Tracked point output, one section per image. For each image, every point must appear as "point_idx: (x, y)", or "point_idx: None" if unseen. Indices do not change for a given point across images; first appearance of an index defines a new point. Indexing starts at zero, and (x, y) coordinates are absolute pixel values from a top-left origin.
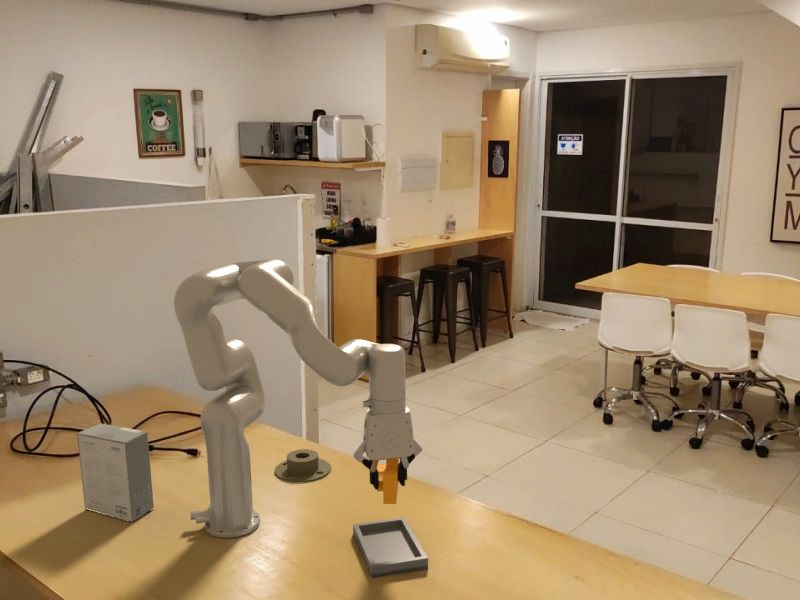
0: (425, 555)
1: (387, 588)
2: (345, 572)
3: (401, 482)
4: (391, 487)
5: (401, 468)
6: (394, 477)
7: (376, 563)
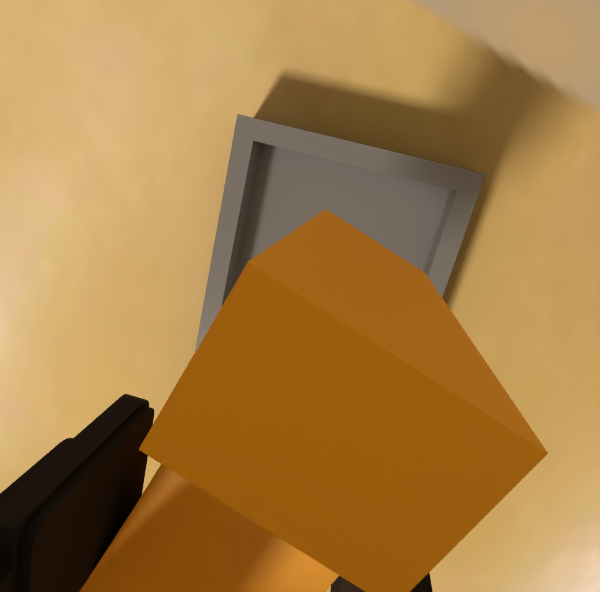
0: (237, 137)
1: (458, 74)
2: (537, 263)
3: (138, 426)
4: (357, 262)
5: (23, 557)
6: (291, 267)
7: (451, 188)
